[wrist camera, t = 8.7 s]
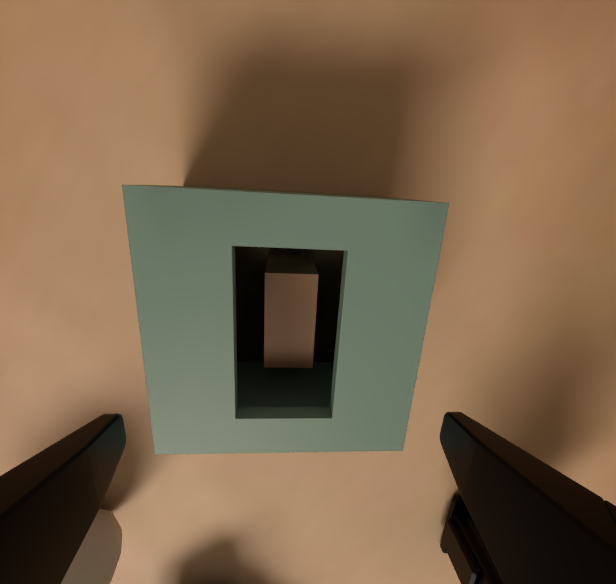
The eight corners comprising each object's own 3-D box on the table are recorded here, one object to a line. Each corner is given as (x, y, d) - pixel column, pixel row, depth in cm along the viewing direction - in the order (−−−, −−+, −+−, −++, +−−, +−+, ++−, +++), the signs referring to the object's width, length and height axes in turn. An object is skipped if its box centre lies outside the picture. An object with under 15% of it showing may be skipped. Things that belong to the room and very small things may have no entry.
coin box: (390, 197, 19) (449, 203, 12) (367, 373, 22) (402, 450, 16) (182, 186, 18) (121, 184, 11) (194, 371, 21) (154, 454, 15)
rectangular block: (309, 253, 19) (318, 274, 15) (305, 327, 21) (312, 367, 16) (269, 252, 19) (265, 272, 15) (268, 326, 21) (263, 367, 16)
